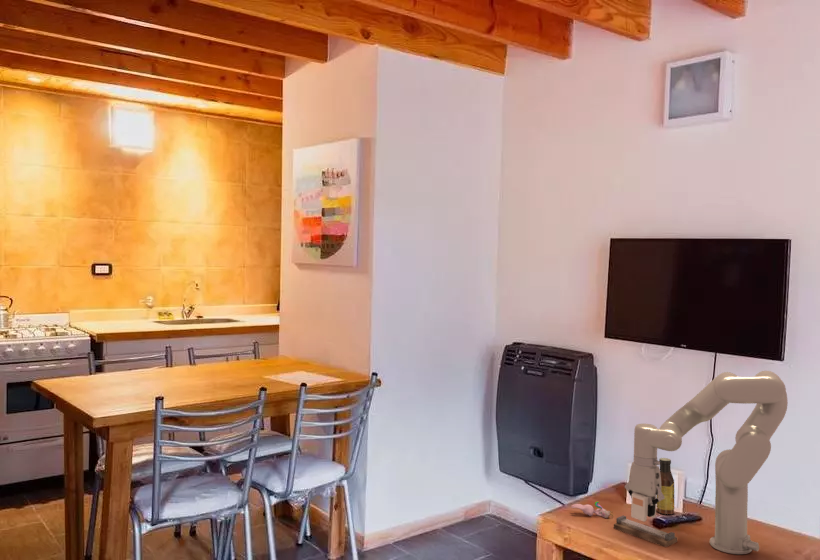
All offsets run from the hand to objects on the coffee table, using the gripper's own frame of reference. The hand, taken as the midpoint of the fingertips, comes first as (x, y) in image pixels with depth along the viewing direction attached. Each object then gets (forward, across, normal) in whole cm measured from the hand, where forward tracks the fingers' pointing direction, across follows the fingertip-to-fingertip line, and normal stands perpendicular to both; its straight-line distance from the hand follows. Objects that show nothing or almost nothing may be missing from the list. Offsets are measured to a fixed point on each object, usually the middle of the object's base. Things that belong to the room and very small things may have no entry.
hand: (643, 512), depth 232 cm
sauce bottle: (+8, +6, -25) cm, 27 cm away
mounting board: (+8, 0, 0) cm, 8 cm away
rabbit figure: (+8, +21, -1) cm, 23 cm away
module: (+1, 0, 0) cm, 1 cm away
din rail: (+6, 0, 0) cm, 6 cm away
